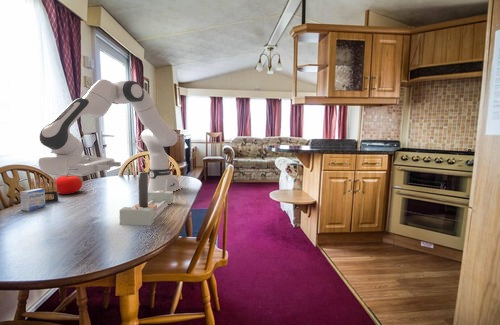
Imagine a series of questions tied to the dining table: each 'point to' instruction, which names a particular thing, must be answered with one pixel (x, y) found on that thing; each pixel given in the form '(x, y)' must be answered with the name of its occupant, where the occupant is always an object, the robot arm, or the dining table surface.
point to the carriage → (144, 192)
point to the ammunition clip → (49, 192)
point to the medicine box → (32, 199)
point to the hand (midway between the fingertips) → (114, 166)
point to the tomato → (68, 184)
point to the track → (146, 209)
